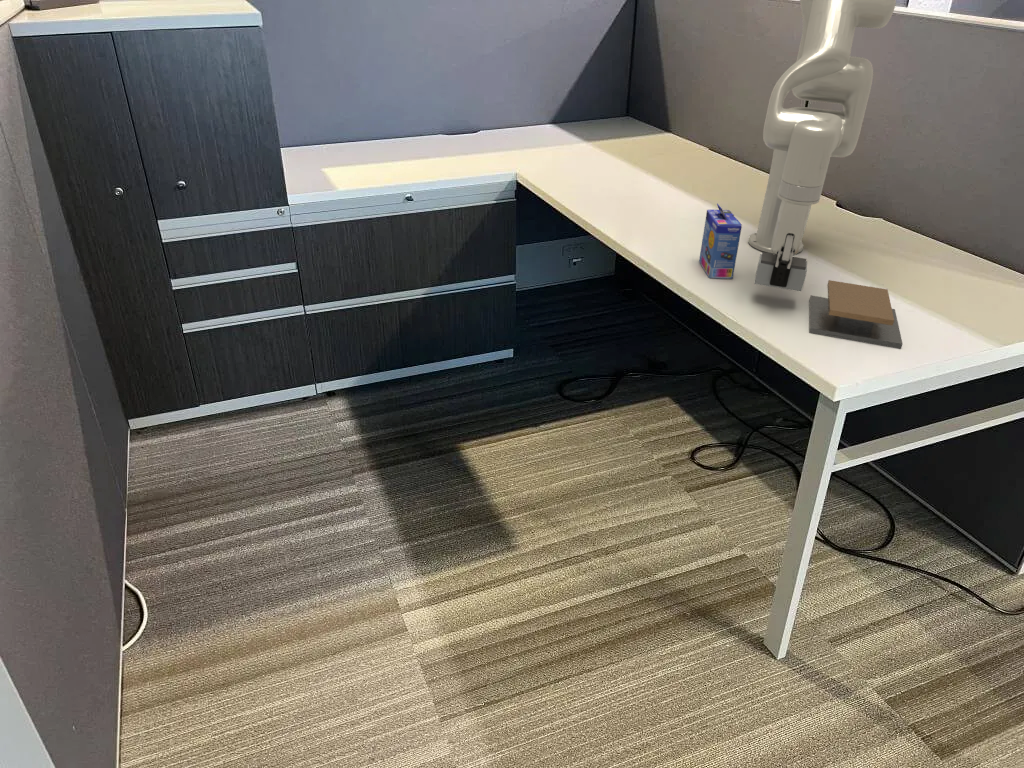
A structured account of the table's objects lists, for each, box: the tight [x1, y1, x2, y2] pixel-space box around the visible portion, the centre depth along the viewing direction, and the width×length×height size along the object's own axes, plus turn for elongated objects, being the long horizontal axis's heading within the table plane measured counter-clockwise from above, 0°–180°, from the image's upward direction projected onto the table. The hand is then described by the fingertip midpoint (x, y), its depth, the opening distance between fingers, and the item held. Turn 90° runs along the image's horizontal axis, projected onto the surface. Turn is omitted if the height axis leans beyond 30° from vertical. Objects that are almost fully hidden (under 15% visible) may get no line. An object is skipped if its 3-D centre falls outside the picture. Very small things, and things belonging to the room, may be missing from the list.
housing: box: [754, 251, 808, 292], centre depth 151 cm, size 5×9×5 cm, turn 71°
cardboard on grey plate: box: [808, 279, 903, 350], centre depth 146 cm, size 16×16×5 cm
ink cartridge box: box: [698, 203, 743, 280], centre depth 164 cm, size 10×6×14 cm, turn 2°
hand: (778, 279), depth 152 cm, fingers closed on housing, 5 cm apart
